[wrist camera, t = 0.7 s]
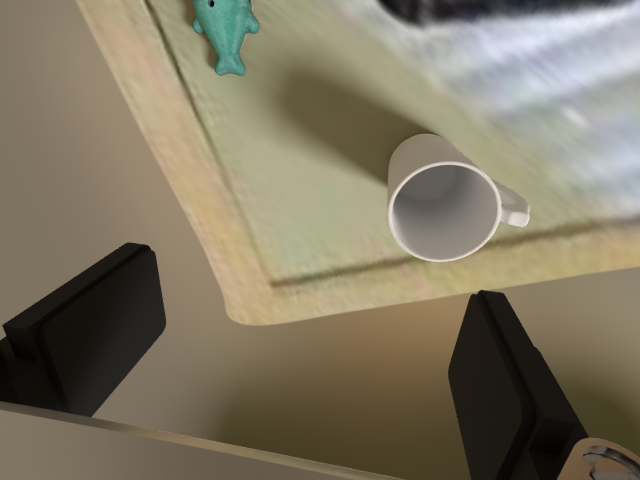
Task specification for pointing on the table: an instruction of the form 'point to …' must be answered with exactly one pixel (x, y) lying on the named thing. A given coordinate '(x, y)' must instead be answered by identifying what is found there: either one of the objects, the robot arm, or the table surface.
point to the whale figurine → (226, 30)
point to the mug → (445, 200)
